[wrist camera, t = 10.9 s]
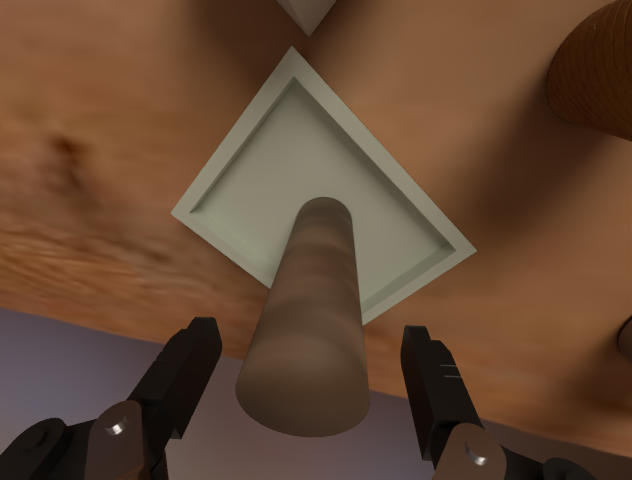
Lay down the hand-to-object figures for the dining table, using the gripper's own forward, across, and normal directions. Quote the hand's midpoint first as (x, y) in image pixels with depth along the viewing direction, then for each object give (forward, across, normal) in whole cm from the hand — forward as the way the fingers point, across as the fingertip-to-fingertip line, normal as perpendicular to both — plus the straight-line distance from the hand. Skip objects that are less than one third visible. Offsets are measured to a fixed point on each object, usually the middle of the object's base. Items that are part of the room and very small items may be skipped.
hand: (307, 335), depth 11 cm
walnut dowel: (+11, 0, 0) cm, 11 cm away
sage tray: (+12, 0, 0) cm, 12 cm away
